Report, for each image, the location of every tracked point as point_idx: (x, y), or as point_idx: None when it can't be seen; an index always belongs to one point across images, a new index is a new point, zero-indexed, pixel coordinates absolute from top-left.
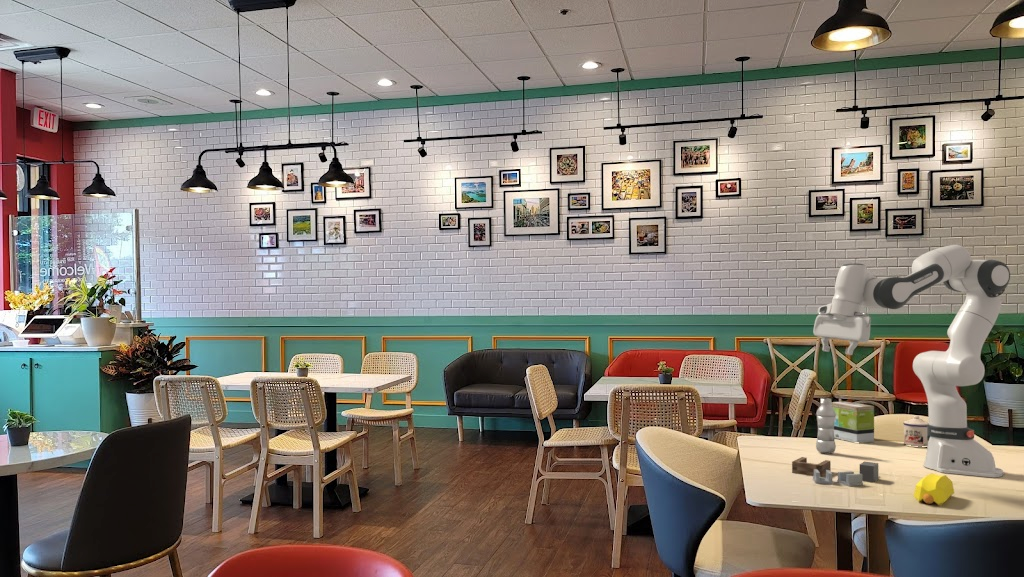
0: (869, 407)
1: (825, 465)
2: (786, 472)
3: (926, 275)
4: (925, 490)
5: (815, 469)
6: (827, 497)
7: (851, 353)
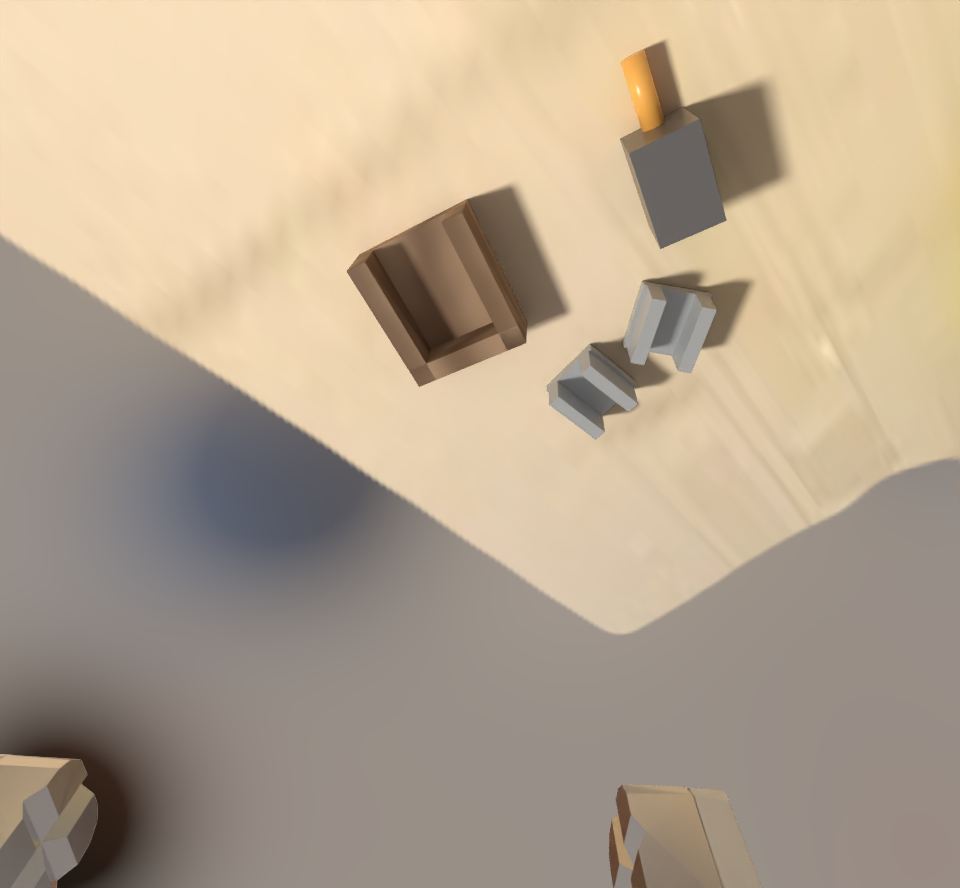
0: None
1: (499, 284)
2: None
3: None
4: None
5: (556, 402)
6: (729, 517)
7: (723, 833)
